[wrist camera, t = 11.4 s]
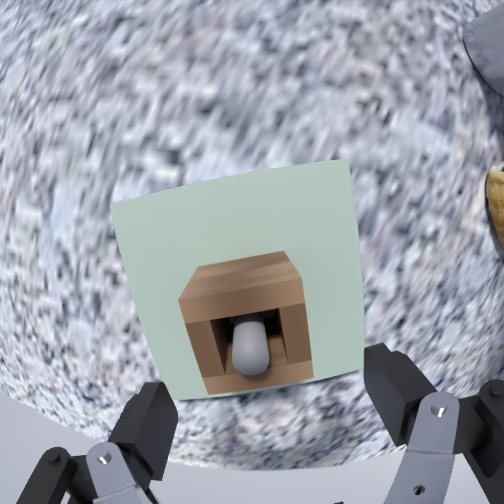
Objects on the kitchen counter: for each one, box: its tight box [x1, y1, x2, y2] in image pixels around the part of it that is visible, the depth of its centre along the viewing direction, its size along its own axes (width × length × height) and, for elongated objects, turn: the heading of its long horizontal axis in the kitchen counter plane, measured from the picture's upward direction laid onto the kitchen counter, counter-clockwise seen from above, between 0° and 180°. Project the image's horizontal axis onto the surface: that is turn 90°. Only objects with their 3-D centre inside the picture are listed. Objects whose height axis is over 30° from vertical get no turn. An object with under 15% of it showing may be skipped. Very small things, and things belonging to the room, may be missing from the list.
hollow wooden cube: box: [178, 251, 314, 395], centre depth 16 cm, size 6×6×6 cm
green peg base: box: [110, 159, 365, 400], centre depth 16 cm, size 16×16×9 cm
